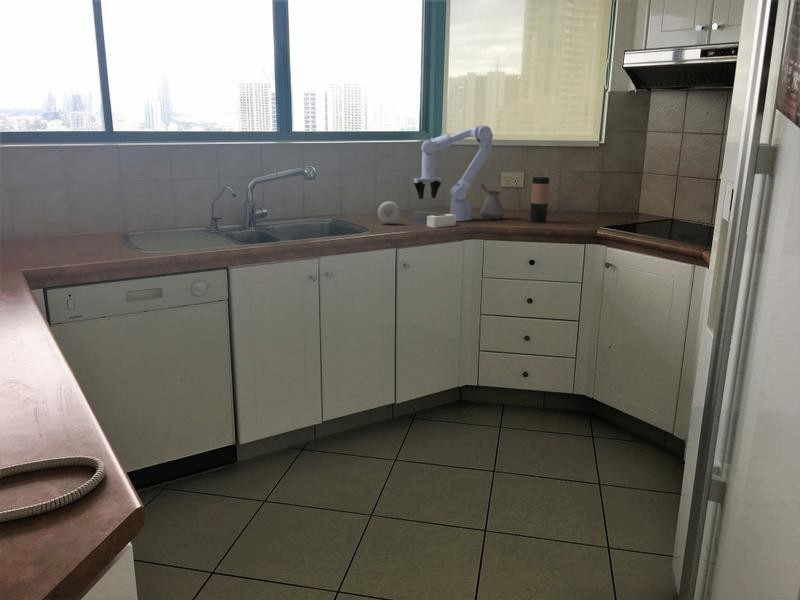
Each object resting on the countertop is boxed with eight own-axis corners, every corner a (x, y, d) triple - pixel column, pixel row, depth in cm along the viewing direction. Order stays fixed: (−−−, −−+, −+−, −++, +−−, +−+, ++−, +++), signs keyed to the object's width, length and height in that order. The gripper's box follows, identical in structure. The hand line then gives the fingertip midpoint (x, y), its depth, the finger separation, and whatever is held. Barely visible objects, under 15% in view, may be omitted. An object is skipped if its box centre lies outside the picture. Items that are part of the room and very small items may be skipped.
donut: (398, 223, 295) (399, 200, 293) (400, 224, 292) (401, 201, 290) (376, 223, 293) (376, 201, 290) (378, 225, 290) (378, 201, 287)
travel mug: (545, 221, 309) (548, 177, 304) (547, 223, 302) (550, 178, 297) (528, 220, 310) (531, 176, 305) (530, 222, 303) (533, 178, 298)
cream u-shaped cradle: (448, 224, 295) (448, 213, 294) (455, 225, 292) (455, 215, 291) (426, 226, 288) (427, 215, 286) (434, 227, 284) (434, 217, 283)
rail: (418, 221, 303) (418, 210, 301) (444, 225, 292) (445, 214, 290) (412, 222, 300) (413, 211, 299) (439, 226, 289) (439, 215, 288)
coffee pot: (508, 220, 311) (509, 187, 307) (484, 220, 308) (486, 187, 304) (490, 214, 331) (492, 183, 327) (469, 214, 328) (470, 183, 324)
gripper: (434, 167, 309) (433, 196, 312) (410, 167, 300) (409, 198, 303) (444, 167, 303) (443, 198, 307) (420, 168, 294) (419, 199, 298)
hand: (427, 198), depth 305 cm, fingers open, 7 cm apart
